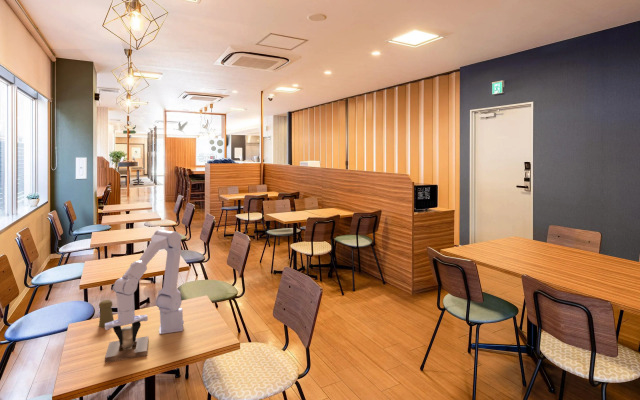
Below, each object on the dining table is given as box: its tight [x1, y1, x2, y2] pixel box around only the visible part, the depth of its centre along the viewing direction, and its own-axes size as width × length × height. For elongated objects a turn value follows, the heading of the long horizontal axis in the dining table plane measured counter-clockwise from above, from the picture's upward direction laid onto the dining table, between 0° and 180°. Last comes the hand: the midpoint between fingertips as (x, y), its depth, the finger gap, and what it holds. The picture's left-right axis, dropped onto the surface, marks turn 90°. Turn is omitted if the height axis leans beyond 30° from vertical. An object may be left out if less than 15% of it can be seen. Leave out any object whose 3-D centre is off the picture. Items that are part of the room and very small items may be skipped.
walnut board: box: [104, 335, 149, 364], centre depth 144 cm, size 14×12×2 cm
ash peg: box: [121, 325, 134, 351], centre depth 143 cm, size 4×4×9 cm
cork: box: [98, 299, 115, 329], centre depth 165 cm, size 6×6×11 cm
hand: (127, 342), depth 143 cm, fingers closed on ash peg, 4 cm apart
